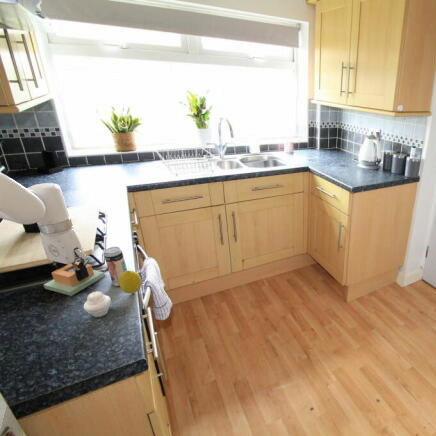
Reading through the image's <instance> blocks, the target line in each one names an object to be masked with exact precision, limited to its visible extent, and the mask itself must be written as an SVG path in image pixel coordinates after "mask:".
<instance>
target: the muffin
mask: <svg viewBox="0 0 436 436" xmlns="http://www.w3.org/2000/svg"><path fill="white" fill-rule="evenodd" d="M111 302H112V299H111V297H110V295H106V294H104V292H102V291H93V292H90V293H89V294H88V295H87V297H86V301H85V303H84V304H83V310H84V311H86V313H88V314H89V315H91V316H93V317H95V318H100V317H103V316H105V315H106V314H108V312H109V310H110V306H111Z"/></svg>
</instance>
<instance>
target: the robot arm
mask: <svg viewBox="0 0 436 436" xmlns="http://www.w3.org/2000/svg"><path fill="white" fill-rule="evenodd" d="M66 203H67V202H66V200H65V197H64V194H63V191H62V188H61V186H60V185H59V184H57V183H52V182H45V183H37V184H33V185H31V186H28V187H25V186H23V185H22V184H20V183H19V182H17V181H16V180H14V179H13V178H11V177H9V176H8V175H6V174H5V173H2V172H1V171H0V219H2V220H6V221H9V222H13V223H16V224H20V225H32V224H37V227H38V229H39V231H40V232H39V233H40V239H41V244H42V247H43V250H44V253H45V256H46V258H47V260H49V261H52V264H53V265H54V266H55V269H56V270H58V269H60V268H62V267H64V266H66V265H68V264H72V265H73V266H74V268H75V269H76V270H74V271H75V274H76V277H77V279H78V281H81V280H83V279H85V278H87V277H88V276H89V274H88V271H87V268H86V266H87V264H88V261H89V260H90V259H89V257H88V256H87V255H86V254H85V253H84V249H83V246H82V243H81V242H80V239H79V237H78V235H77V232H76V231H75V229H74V224H73V221H72V219H71V214H70V212H69V209H68V206H67V204H66ZM76 262H80V263H79V264H78V265H77V264H76Z"/></svg>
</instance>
